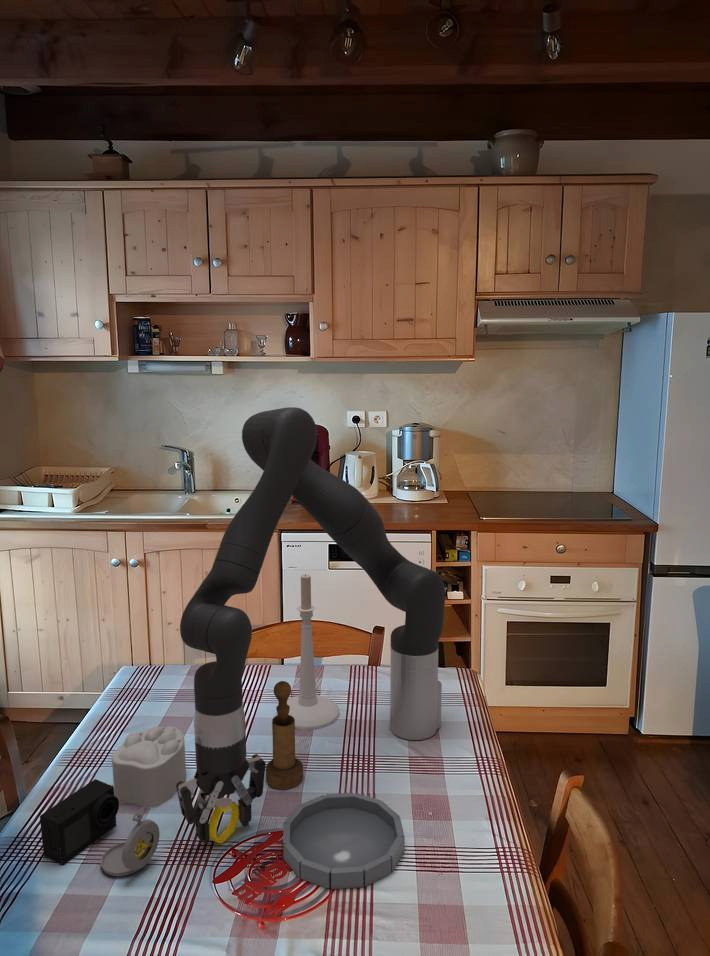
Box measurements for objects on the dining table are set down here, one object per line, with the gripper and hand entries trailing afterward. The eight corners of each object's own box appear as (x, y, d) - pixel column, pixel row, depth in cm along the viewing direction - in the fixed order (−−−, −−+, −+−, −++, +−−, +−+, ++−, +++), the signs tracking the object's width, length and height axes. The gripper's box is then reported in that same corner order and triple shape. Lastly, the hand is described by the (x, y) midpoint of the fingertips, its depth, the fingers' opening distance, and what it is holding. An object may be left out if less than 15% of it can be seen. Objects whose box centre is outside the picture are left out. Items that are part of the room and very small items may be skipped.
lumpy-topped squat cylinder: (105, 799, 121) (102, 752, 119) (149, 757, 133) (147, 714, 132) (160, 811, 118) (157, 762, 116) (200, 767, 130) (197, 722, 129)
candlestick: (351, 708, 150) (350, 570, 145) (315, 736, 140) (313, 588, 134) (301, 693, 157) (299, 560, 152) (264, 718, 147) (259, 577, 141)
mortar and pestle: (297, 792, 123) (295, 693, 119) (260, 787, 124) (257, 690, 121) (307, 769, 129) (305, 675, 126) (272, 765, 130) (270, 672, 127)
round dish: (358, 793, 122) (357, 780, 122) (427, 854, 107) (427, 839, 107) (262, 834, 112) (262, 820, 111) (324, 907, 97) (324, 891, 97)
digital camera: (68, 869, 105) (64, 826, 104) (43, 857, 107) (39, 814, 106) (122, 828, 114) (119, 788, 112) (98, 817, 116) (95, 778, 115)
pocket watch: (107, 848, 109) (103, 788, 107) (164, 845, 110) (160, 785, 108) (93, 888, 101) (87, 824, 99) (154, 884, 102) (150, 821, 100)
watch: (228, 825, 115) (229, 789, 114) (243, 830, 113) (243, 794, 113) (204, 845, 109) (204, 808, 109) (218, 851, 108) (219, 814, 107)
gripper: (252, 708, 115) (255, 803, 119) (164, 735, 107) (170, 836, 110) (274, 728, 109) (277, 827, 112) (183, 759, 101) (189, 865, 104)
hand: (224, 831), depth 111 cm, fingers open, 6 cm apart
